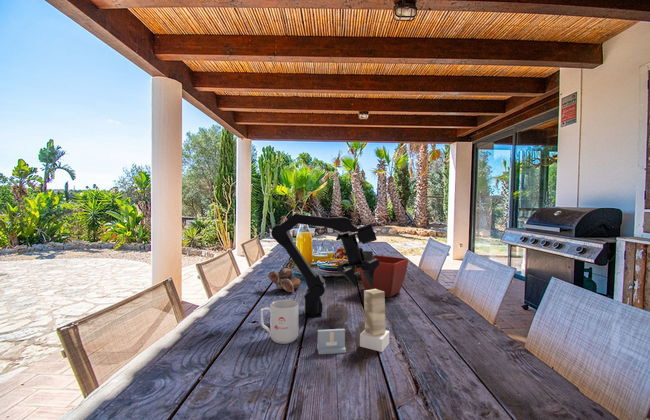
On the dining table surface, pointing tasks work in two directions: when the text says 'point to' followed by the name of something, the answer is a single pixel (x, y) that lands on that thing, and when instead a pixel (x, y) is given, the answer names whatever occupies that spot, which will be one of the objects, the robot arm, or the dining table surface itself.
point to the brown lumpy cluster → (285, 280)
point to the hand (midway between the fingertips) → (363, 286)
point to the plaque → (331, 341)
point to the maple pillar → (374, 311)
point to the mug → (282, 321)
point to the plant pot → (387, 275)
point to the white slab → (374, 341)
